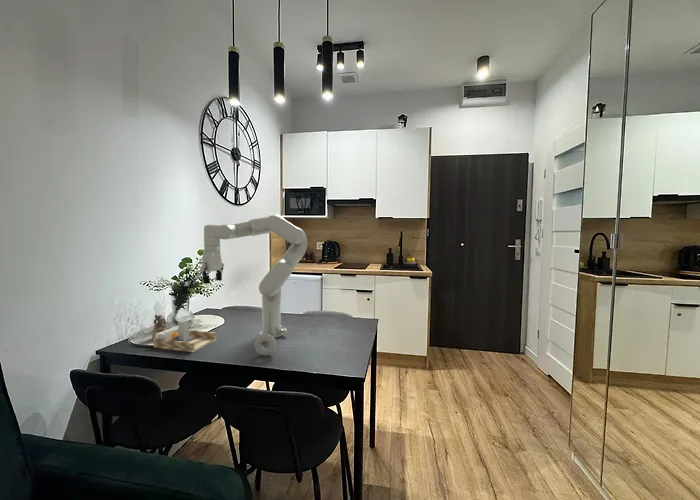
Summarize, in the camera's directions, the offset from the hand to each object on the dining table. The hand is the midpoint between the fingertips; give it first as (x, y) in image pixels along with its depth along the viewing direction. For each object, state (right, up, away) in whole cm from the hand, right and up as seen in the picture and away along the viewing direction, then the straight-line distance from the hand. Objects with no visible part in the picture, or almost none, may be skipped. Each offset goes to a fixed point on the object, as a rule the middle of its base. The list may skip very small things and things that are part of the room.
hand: (212, 281), depth 166 cm
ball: (-14, -26, -9) cm, 31 cm away
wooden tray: (-9, -29, -10) cm, 32 cm away
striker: (-10, -28, -10) cm, 31 cm away
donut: (+33, -31, -23) cm, 51 cm away
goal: (-16, -28, -8) cm, 33 cm away
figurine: (-25, -29, -3) cm, 38 cm away
